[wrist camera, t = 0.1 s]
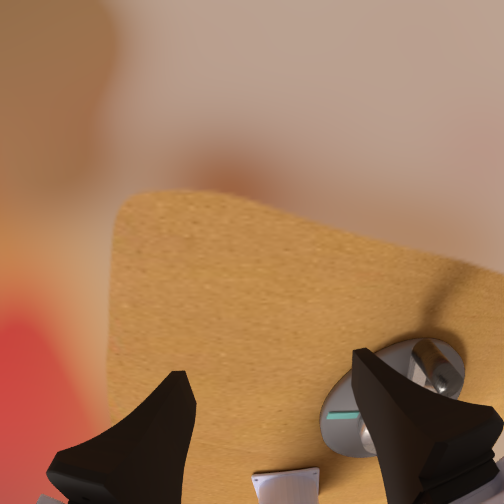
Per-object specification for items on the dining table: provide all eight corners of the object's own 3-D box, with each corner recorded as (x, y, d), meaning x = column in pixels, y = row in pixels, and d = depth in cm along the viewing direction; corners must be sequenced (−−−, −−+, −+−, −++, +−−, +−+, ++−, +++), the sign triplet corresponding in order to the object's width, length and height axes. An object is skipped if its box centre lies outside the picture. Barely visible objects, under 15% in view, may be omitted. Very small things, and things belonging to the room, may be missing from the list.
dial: (428, 426, 25) (449, 467, 18) (353, 449, 25) (367, 496, 19) (457, 317, 21) (500, 357, 14) (365, 341, 21) (395, 396, 15)
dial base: (440, 427, 27) (444, 434, 26) (318, 461, 28) (320, 470, 26) (472, 320, 23) (480, 327, 21) (318, 358, 23) (321, 368, 22)
